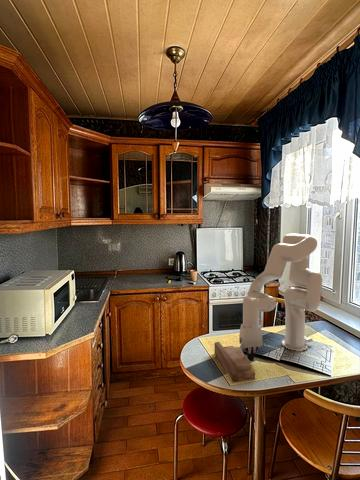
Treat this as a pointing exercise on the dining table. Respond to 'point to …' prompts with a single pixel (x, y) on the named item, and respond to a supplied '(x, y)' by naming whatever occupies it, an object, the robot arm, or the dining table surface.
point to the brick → (239, 358)
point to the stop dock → (232, 365)
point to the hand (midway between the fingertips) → (250, 359)
